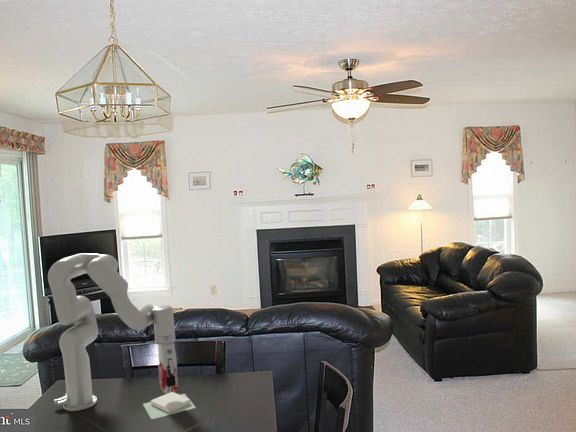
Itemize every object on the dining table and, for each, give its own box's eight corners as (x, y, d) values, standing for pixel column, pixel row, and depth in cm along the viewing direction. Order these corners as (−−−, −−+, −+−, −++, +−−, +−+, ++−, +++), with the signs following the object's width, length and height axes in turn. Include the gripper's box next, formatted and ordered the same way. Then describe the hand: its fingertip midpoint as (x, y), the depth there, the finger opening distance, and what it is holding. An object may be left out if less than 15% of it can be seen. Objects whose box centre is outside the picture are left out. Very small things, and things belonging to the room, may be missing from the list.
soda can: (173, 394, 196) (171, 364, 195) (156, 393, 197) (154, 363, 196) (181, 386, 203) (179, 357, 202) (164, 386, 204) (162, 357, 203)
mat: (151, 420, 189) (151, 419, 189) (142, 404, 203) (142, 403, 203) (195, 408, 197) (195, 407, 197) (184, 394, 210) (184, 393, 210)
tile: (168, 408, 193) (190, 399, 200) (150, 400, 201) (172, 391, 208) (169, 413, 193) (190, 404, 200) (151, 405, 201) (172, 396, 209)
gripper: (180, 342, 192) (184, 387, 194) (168, 330, 208) (172, 373, 209) (161, 346, 189) (164, 392, 190) (150, 334, 204) (153, 377, 206)
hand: (168, 382), depth 200 cm, fingers closed on soda can, 7 cm apart
